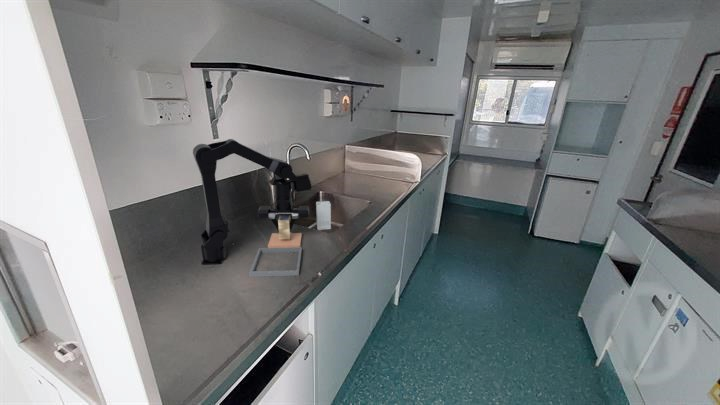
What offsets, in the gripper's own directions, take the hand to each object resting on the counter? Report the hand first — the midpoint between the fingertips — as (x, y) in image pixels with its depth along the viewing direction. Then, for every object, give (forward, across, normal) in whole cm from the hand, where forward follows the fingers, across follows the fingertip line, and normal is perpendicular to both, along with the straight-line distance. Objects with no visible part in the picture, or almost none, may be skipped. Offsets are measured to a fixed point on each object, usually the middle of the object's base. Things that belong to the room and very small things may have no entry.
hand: (285, 231), depth 113 cm
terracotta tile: (+4, 0, 0) cm, 5 cm away
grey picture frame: (+4, +1, +15) cm, 16 cm away
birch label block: (+2, 0, 0) cm, 2 cm away
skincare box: (+5, -15, -12) cm, 20 cm away
